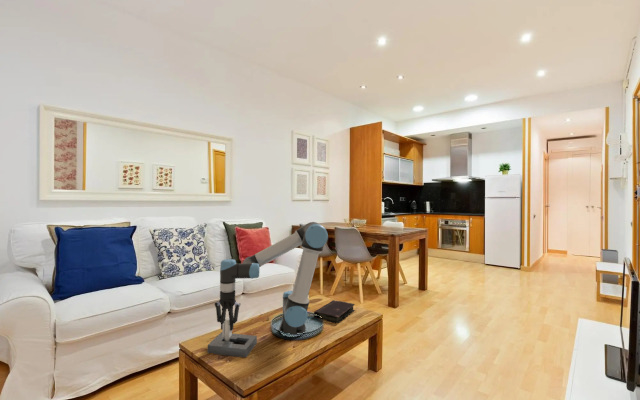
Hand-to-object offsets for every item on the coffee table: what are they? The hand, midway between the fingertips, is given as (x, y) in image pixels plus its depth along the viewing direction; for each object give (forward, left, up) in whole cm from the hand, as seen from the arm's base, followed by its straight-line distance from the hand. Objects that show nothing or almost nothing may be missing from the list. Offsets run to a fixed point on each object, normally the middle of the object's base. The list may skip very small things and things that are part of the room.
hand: (227, 335), depth 156 cm
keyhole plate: (-3, 0, -6) cm, 7 cm away
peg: (0, 0, -5) cm, 5 cm away
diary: (-50, -55, -7) cm, 74 cm away
